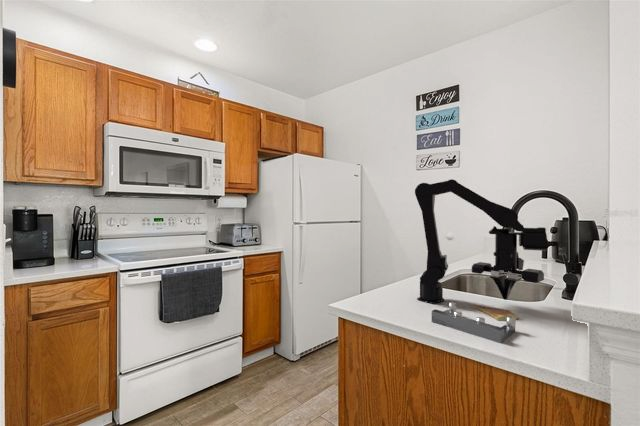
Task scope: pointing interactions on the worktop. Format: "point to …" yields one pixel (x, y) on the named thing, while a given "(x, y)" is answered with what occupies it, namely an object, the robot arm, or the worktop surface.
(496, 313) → the shard
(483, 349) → the worktop surface
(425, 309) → the worktop surface
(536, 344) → the worktop surface
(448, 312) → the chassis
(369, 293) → the worktop surface
